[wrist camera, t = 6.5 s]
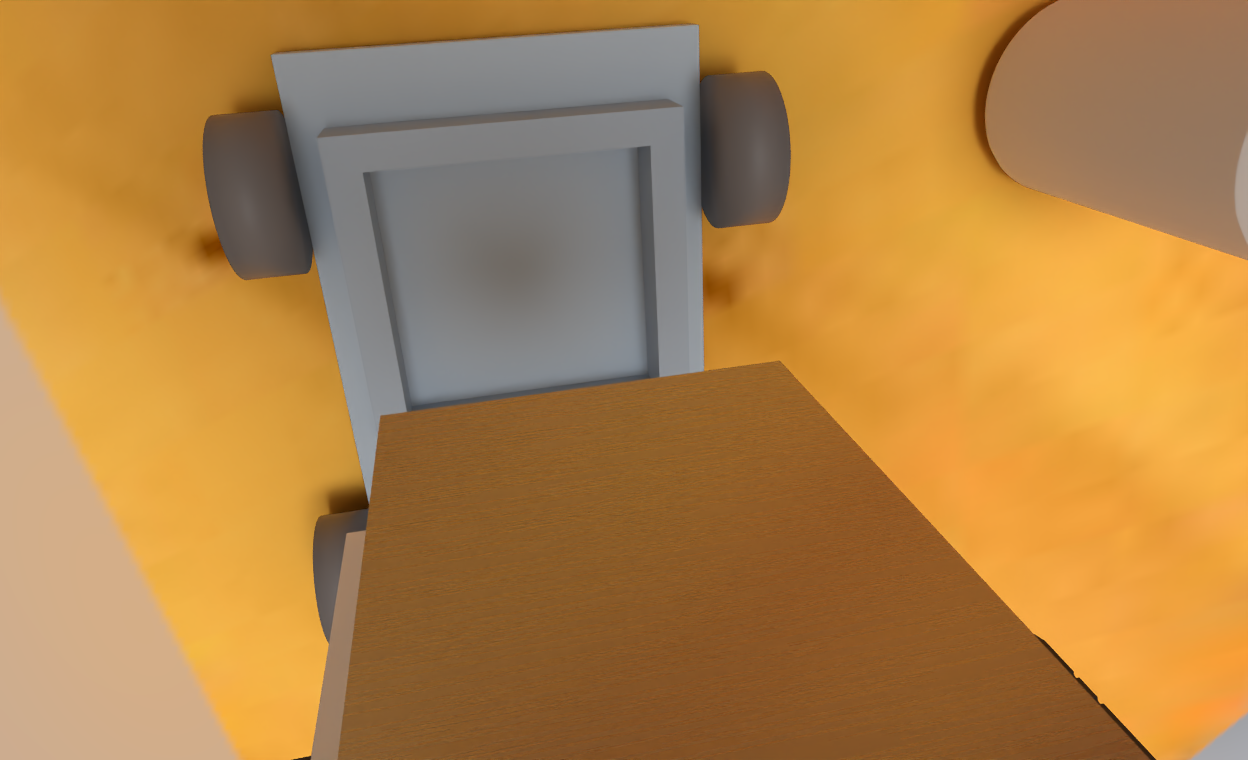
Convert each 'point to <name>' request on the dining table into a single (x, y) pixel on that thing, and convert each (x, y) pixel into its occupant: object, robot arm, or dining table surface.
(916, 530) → the twin lamp box
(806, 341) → the dining table surface
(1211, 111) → the beverage can
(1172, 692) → the dining table surface
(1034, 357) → the dining table surface
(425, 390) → the chassis
